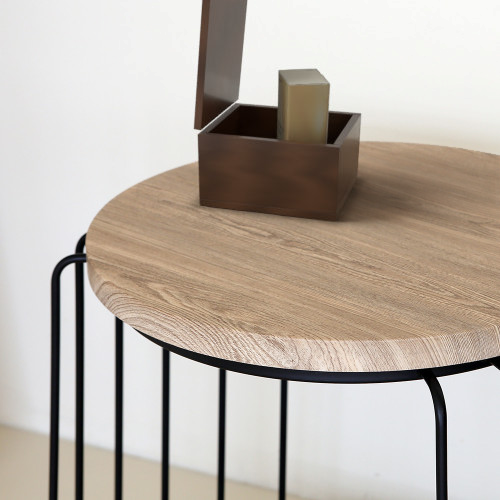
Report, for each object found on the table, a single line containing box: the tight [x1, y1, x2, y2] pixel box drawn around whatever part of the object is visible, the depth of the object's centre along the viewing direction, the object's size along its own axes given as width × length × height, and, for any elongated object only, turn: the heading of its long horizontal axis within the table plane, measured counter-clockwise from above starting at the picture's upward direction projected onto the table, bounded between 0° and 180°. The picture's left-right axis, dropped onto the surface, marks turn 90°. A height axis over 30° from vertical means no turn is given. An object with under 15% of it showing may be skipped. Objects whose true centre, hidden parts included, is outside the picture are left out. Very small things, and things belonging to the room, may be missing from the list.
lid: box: [193, 0, 248, 131], centre depth 83 cm, size 15×13×5 cm
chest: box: [197, 102, 362, 222], centre depth 86 cm, size 15×13×8 cm
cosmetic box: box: [277, 68, 331, 144], centre depth 84 cm, size 6×4×12 cm
